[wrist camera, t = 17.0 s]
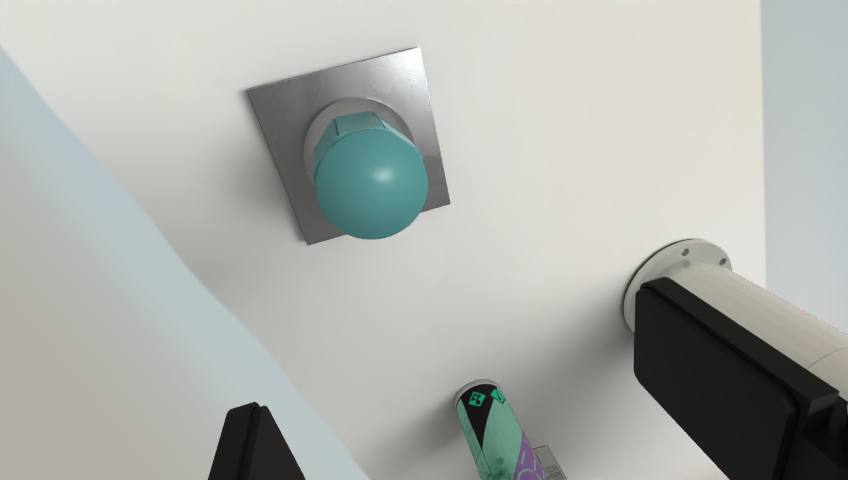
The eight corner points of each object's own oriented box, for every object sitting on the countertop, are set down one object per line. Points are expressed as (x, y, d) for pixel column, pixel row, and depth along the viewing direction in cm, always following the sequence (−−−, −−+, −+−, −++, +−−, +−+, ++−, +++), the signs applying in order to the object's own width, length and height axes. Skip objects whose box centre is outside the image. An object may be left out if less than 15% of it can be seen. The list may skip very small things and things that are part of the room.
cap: (328, 208, 31) (330, 249, 25) (306, 121, 28) (302, 143, 22) (411, 191, 32) (434, 227, 26) (398, 105, 29) (420, 122, 23)
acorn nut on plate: (446, 199, 36) (477, 236, 29) (307, 239, 34) (305, 288, 27) (416, 47, 30) (445, 48, 23) (249, 88, 29) (228, 101, 22)
